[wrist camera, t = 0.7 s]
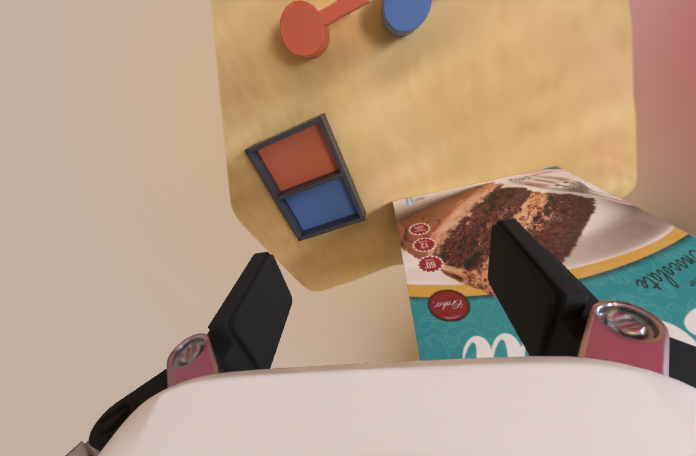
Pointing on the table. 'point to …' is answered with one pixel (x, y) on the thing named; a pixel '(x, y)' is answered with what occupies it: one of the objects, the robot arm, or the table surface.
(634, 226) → the cake mix box
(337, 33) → the table surface
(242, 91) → the table surface
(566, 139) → the table surface
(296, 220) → the tray
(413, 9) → the scoop blue
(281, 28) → the scoop terracotta
